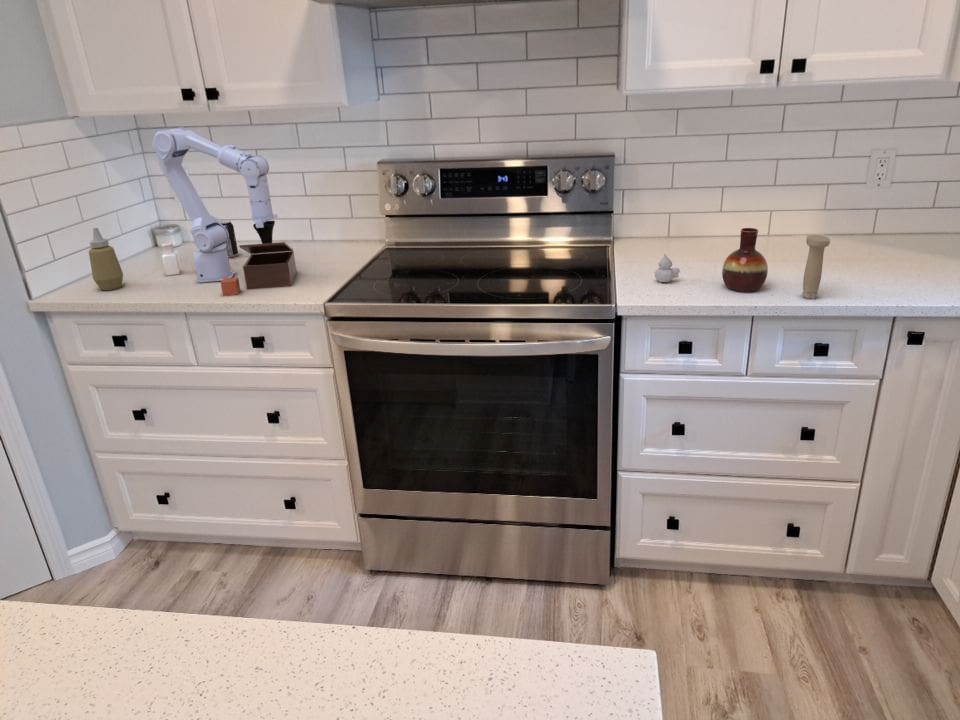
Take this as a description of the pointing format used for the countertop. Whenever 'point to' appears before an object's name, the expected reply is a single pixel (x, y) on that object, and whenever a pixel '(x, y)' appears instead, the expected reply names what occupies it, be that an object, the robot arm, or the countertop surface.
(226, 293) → the block
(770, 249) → the countertop surface
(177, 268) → the pepper shaker
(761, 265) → the vase
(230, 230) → the black upright box
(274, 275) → the chest
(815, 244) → the handle
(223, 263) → the robot arm
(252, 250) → the chest lid
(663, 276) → the grey rounded figurine
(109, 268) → the squeeze bottle
